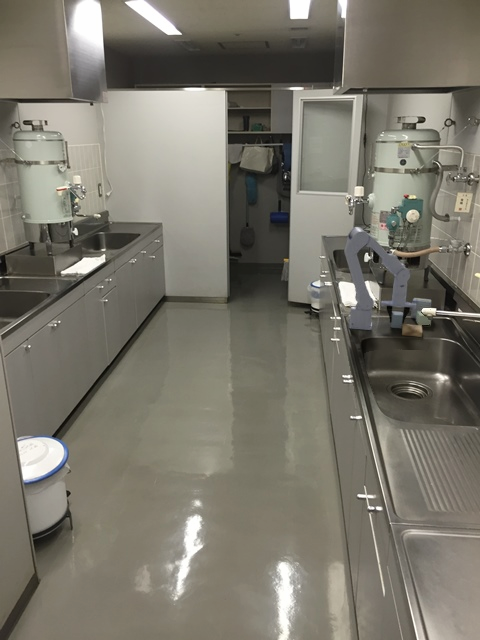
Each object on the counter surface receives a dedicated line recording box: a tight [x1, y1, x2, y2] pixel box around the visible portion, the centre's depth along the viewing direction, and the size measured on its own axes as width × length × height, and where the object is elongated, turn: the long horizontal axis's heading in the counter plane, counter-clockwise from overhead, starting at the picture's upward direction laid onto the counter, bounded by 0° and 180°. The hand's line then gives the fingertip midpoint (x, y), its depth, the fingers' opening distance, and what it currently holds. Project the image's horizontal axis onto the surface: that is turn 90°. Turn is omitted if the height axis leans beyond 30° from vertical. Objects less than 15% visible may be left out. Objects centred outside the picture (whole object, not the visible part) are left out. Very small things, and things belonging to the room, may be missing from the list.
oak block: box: [401, 323, 423, 338], centre depth 224 cm, size 8×8×2 cm
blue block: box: [390, 310, 403, 329], centre depth 231 cm, size 4×4×6 cm
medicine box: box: [410, 297, 432, 319], centre depth 239 cm, size 8×4×9 cm, turn 65°
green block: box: [415, 311, 432, 325], centre depth 233 cm, size 5×6×5 cm
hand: (396, 322), depth 231 cm, fingers closed on blue block, 4 cm apart
